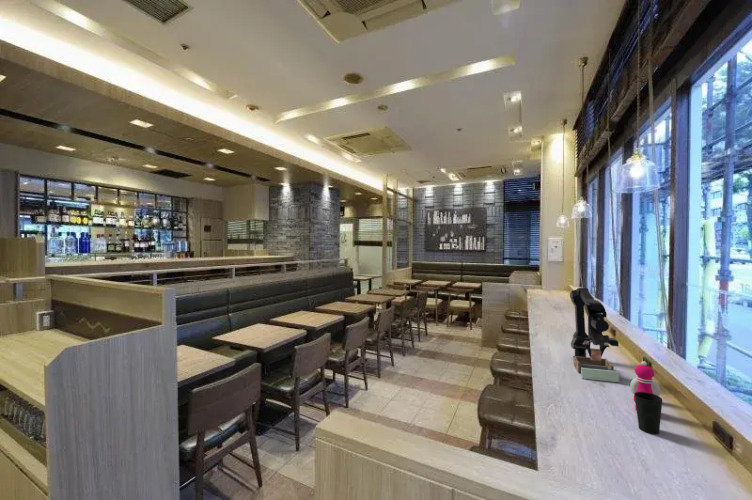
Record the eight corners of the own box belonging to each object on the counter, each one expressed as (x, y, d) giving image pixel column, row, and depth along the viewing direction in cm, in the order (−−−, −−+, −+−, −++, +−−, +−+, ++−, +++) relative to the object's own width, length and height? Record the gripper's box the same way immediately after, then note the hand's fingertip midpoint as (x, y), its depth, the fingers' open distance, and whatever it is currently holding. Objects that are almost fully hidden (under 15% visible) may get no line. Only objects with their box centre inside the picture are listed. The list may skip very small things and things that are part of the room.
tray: (576, 369, 173) (576, 360, 173) (611, 373, 167) (611, 363, 167) (582, 378, 162) (581, 368, 162) (619, 382, 156) (619, 371, 156)
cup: (665, 438, 111) (664, 403, 111) (636, 432, 115) (636, 398, 115) (660, 427, 117) (659, 394, 117) (633, 422, 121) (632, 390, 121)
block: (591, 360, 165) (591, 350, 165) (589, 357, 169) (589, 348, 169) (601, 361, 164) (600, 351, 164) (598, 358, 167) (598, 348, 167)
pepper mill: (651, 418, 124) (650, 365, 124) (629, 410, 130) (628, 360, 130) (661, 413, 127) (659, 362, 127) (639, 405, 133) (638, 357, 133)
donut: (659, 400, 137) (659, 377, 137) (661, 404, 134) (661, 380, 134) (629, 396, 142) (629, 373, 142) (631, 399, 139) (630, 375, 139)
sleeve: (573, 365, 180) (573, 356, 180) (606, 368, 175) (606, 358, 175) (578, 373, 169) (578, 363, 169) (613, 376, 164) (613, 366, 164)
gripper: (576, 329, 162) (577, 360, 162) (622, 332, 155) (622, 364, 155) (572, 324, 173) (573, 353, 173) (614, 326, 166) (615, 357, 166)
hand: (595, 357), depth 166 cm, fingers closed on block, 4 cm apart
